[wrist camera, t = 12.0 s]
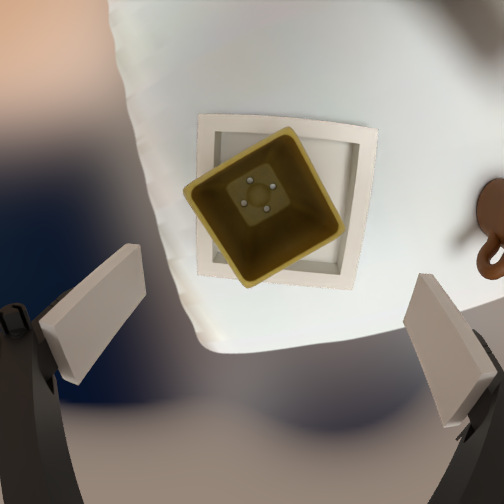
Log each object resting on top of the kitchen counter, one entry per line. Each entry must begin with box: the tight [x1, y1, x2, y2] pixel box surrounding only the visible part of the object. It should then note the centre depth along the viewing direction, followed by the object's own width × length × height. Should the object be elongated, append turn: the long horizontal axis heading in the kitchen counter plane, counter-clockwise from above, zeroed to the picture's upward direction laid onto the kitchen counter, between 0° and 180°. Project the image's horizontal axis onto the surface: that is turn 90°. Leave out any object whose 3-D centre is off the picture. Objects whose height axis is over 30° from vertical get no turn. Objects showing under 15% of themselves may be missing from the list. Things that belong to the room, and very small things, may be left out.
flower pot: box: [183, 126, 345, 288], centre depth 25 cm, size 9×9×9 cm
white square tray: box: [196, 114, 378, 290], centre depth 29 cm, size 16×16×4 cm
